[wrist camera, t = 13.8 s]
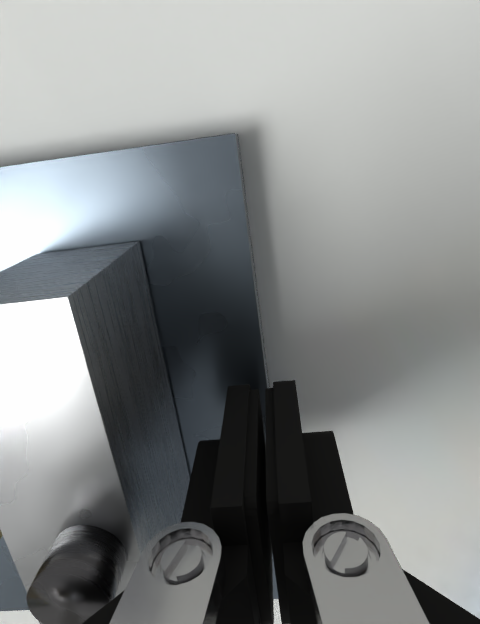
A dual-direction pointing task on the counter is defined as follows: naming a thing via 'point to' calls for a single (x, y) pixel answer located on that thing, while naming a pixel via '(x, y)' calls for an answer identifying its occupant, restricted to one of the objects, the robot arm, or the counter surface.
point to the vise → (155, 266)
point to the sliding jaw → (83, 427)
